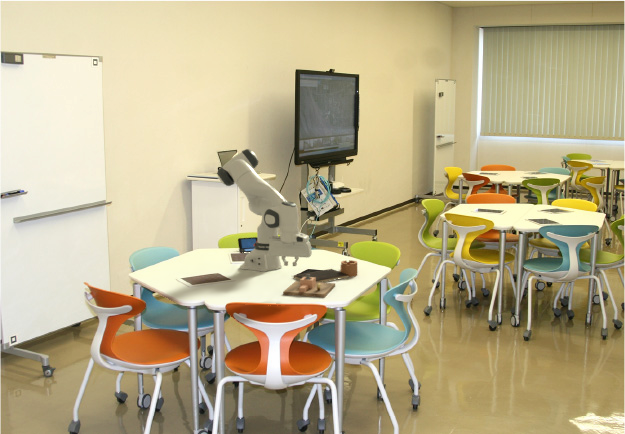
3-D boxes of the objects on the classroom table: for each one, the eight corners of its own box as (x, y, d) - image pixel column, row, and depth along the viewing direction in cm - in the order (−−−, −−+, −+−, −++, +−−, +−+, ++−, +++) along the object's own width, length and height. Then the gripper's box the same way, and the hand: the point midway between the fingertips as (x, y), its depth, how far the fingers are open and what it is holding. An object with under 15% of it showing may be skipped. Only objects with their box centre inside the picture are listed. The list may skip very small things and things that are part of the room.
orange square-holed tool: (295, 291, 328) (295, 283, 328) (303, 284, 341) (303, 276, 340) (308, 292, 327) (308, 284, 326) (315, 285, 339) (315, 277, 338)
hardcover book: (348, 279, 358) (348, 274, 358) (310, 286, 346) (310, 281, 346) (330, 272, 372) (330, 268, 371) (293, 279, 360) (293, 274, 359)
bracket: (357, 277, 361) (357, 263, 360) (341, 277, 361) (341, 264, 360) (355, 268, 379) (355, 256, 378) (340, 268, 379) (340, 256, 378)
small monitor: (241, 253, 420) (241, 241, 419) (237, 250, 430) (237, 238, 429) (262, 252, 424) (261, 240, 423) (257, 248, 434) (257, 236, 433)
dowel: (316, 290, 330) (316, 284, 330) (317, 289, 332) (317, 283, 331) (319, 290, 330) (319, 284, 329) (320, 289, 331) (320, 283, 331)
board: (283, 294, 329) (283, 291, 329) (295, 284, 348) (295, 281, 348) (324, 297, 324) (324, 294, 324) (335, 286, 343) (335, 283, 343)
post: (305, 287, 336) (305, 274, 335) (306, 286, 338) (306, 273, 337) (309, 287, 336) (309, 275, 335) (310, 286, 338) (310, 274, 337)
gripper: (266, 237, 328) (267, 266, 330) (308, 238, 322) (309, 268, 325) (270, 234, 334) (271, 263, 336) (312, 236, 328) (312, 265, 330)
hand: (290, 265), depth 330 cm, fingers open, 3 cm apart
